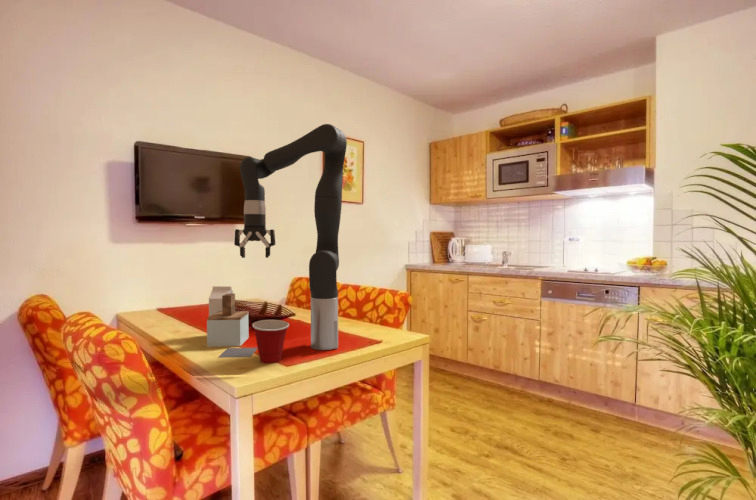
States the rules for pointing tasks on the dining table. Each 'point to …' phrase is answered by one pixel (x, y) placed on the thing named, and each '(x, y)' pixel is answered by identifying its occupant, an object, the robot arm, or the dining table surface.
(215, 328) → the grey storage bin
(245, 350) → the mat
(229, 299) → the wooden t-shaped stand
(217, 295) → the milk carton
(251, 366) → the dining table surface
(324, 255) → the robot arm
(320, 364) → the dining table surface
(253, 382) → the dining table surface
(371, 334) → the dining table surface
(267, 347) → the plastic cup
